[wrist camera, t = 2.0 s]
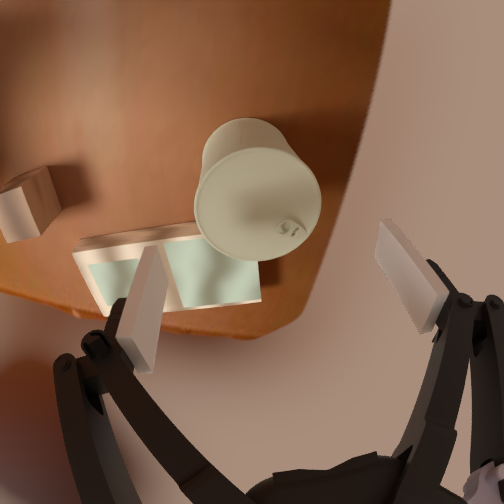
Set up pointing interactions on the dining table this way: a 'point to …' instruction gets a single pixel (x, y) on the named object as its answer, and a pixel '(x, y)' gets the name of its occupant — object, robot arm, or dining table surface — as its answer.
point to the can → (254, 192)
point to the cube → (28, 205)
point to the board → (167, 268)
